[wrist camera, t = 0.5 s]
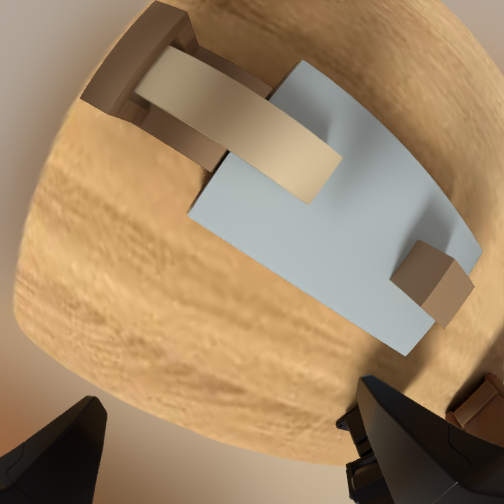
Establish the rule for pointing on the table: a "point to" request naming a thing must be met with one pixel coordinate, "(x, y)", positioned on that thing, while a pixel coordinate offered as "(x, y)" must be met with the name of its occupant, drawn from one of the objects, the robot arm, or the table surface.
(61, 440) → the robot arm
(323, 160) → the sliding latch bolt
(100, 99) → the brown wooden open box
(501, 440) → the brown backpack
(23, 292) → the table surface
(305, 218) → the lid
